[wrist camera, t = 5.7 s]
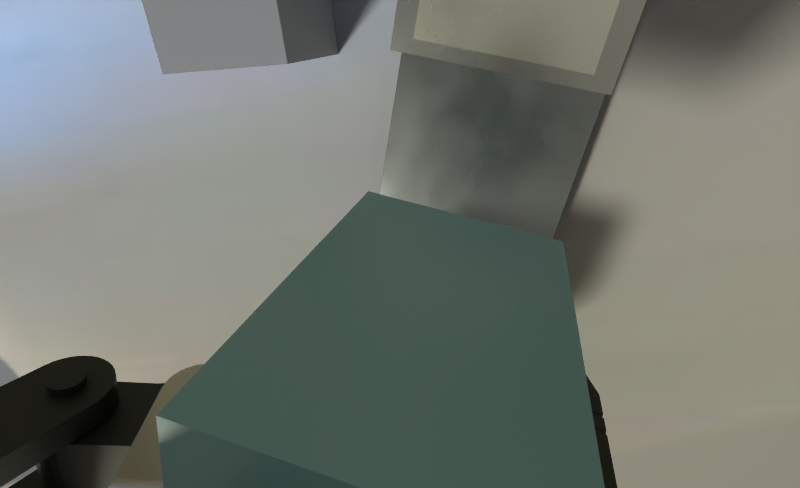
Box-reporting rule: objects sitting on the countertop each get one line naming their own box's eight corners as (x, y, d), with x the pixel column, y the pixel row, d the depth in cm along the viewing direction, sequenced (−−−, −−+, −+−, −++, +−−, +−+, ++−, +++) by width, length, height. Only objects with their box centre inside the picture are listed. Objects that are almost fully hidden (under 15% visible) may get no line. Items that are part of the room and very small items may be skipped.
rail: (430, -99, 17) (378, -166, 11) (657, -63, 16) (742, -114, 10) (361, 331, 26) (312, 424, 20) (500, 372, 25) (493, 484, 19)
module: (368, 191, 11) (149, 422, 4) (563, 241, 10) (621, 591, 4) (340, 380, 13) (179, 687, 7) (491, 429, 13) (459, 811, 7)
